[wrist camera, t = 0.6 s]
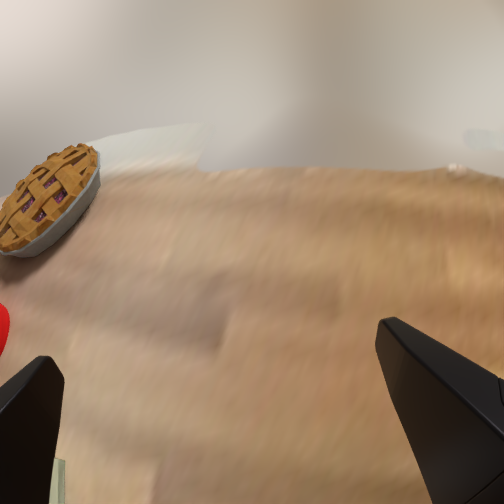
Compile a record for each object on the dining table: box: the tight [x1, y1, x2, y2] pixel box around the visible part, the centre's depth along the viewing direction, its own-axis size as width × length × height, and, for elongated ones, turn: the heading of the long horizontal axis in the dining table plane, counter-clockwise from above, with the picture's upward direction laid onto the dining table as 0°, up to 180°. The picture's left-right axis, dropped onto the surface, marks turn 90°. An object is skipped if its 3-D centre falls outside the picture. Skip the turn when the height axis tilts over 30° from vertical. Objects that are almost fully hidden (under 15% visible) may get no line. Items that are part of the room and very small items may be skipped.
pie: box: [0, 143, 101, 258], centre depth 40 cm, size 22×22×5 cm
